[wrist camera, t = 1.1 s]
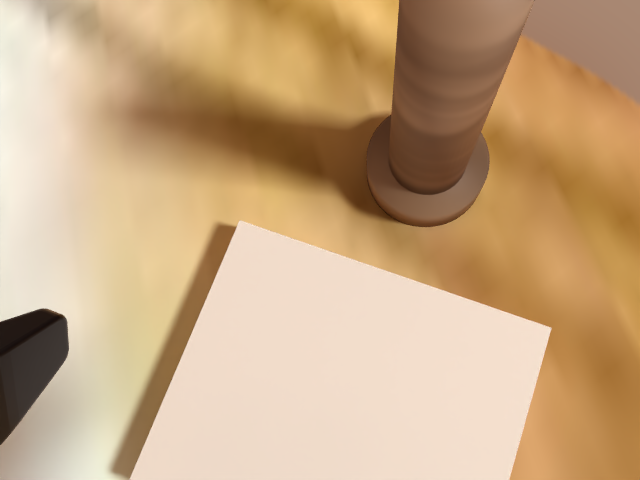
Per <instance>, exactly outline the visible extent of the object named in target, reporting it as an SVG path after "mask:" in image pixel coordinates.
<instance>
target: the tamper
mask: <svg viewBox="0 0 640 480" xmlns="http://www.w3.org/2000/svg"><path fill="white" fill-rule="evenodd" d="M534 1H535V0H399V13H398V28H397V42H396V56H395V71H394V85H393V100H392V114H391V115H390V116H389V117H388V118H386V119H385V120H384V121H383V122H382V123H381V124H380V125H379V127H378V128H377V129H376V131H375V132H374V134H373V136H372V138H371V140H370V143H369V146H368V151H367V179H368V185H369V188H370V191H371V193H372V196H373V197H374V199H375V201H376V202H377V204H378V205H379V206H380V207H381V208H382V209H383V210H384V211H385V212H386V213H387V214H388V215H390V216H391V217H393V218H394V219H396V220H398V221H400V222H403V223H405V224H409V225H412V226H419V227H432V226H439V225H443V224H446V223H448V222H451V221H453V220H455V219H457V218H458V217H460V216H461V215H462V214H464V213H465V212H466V211H467V210H468V209H469V208H470V207H471V205H472V204H473V203H474V201H475V200H476V198H477V196H478V194H479V192H480V191H481V189H482V187H483V185H484V183H485V180H486V178H487V174H488V170H489V151H488V147H487V144H486V141H485V139H484V137H483V135H482V133H481V130H482V128H483V126H484V123H485V121H486V118H487V116H488V113H489V111H490V108H491V106H492V104H493V101H494V99H495V96H496V94H497V91H498V89H499V86H500V84H501V82H502V79H503V77H504V74H505V72H506V69H507V67H508V64H509V62H510V60H511V57H512V55H513V52H514V50H515V47H516V45H517V42H518V40H519V38H520V35H521V32H522V30H523V27H524V25H525V23H526V20H527V18H528V15H529V13H530V10H531V8H532V6H533V3H534Z"/></svg>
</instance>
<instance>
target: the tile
mask: <svg viewBox="0 0 640 480" xmlns="http://www.w3.org/2000/svg"><path fill="white" fill-rule="evenodd" d="M550 331H551V328H550V327H547V326H544V325H541V324H539V323H536V322H533V321H530V320H527V319H524V318H521V317H518V316H515V315H513V314H510V313H507V312H504V311H501V310H498V309H495V308H492V307H489V306H486V305H484V304H481V303H478V302H475V301H472V300H469V299H466V298H463V297H460V296H457V295H455V294H452V293H449V292H446V291H443V290H440V289H437V288H434V287H431V286H428V285H426V284H423V283H420V282H417V281H414V280H411V279H408V278H405V277H402V276H400V275H397V274H394V273H391V272H388V271H385V270H382V269H379V268H376V267H373V266H371V265H368V264H365V263H362V262H359V261H356V260H353V259H350V258H347V257H344V256H342V255H339V254H336V253H333V252H330V251H327V250H324V249H321V248H318V247H315V246H313V245H310V244H307V243H304V242H301V241H298V240H295V239H292V238H289V237H287V236H284V235H281V234H278V233H275V232H272V231H269V230H266V229H263V228H260V227H258V226H255V225H252V224H249V223H246V222H243V221H239V223H238V225H237V228H236V230H235V232H234V235H233V237H232V240H231V242H230V244H229V247H228V249H227V251H226V254H225V256H224V258H223V261H222V263H221V265H220V268H219V270H218V272H217V275H216V277H215V279H214V282H213V284H212V287H211V289H210V291H209V294H208V296H207V298H206V301H205V303H204V305H203V308H202V310H201V312H200V315H199V317H198V319H197V322H196V324H195V327H194V329H193V331H192V334H191V336H190V338H189V341H188V343H187V345H186V348H185V350H184V352H183V355H182V357H181V359H180V362H179V364H178V366H177V369H176V371H175V374H174V376H173V378H172V381H171V383H170V385H169V388H168V390H167V392H166V395H165V397H164V399H163V402H162V404H161V406H160V409H159V411H158V414H157V416H156V418H155V421H154V423H153V425H152V428H151V430H150V432H149V435H148V437H147V439H146V442H145V444H144V446H143V449H142V451H141V453H140V456H139V458H138V461H137V463H136V465H135V468H134V470H133V472H132V475H131V477H130V479H129V480H509V478H510V475H511V471H512V467H513V464H514V460H515V457H516V453H517V449H518V446H519V442H520V439H521V435H522V432H523V428H524V424H525V421H526V417H527V414H528V410H529V406H530V403H531V399H532V396H533V392H534V388H535V385H536V381H537V378H538V374H539V371H540V367H541V363H542V360H543V356H544V353H545V349H546V345H547V342H548V338H549V335H550Z"/></svg>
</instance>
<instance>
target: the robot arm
mask: <svg viewBox="0 0 640 480" xmlns="http://www.w3.org/2000/svg"><path fill="white" fill-rule="evenodd" d="M68 351H69V342H68V327H67V320H66V318H65V316H63V315H62V314H59V313H57V312H54V311H52V310H49V309H38V310H35V311H32V312H29V313H26V314H23V315H20V316H17V317H14V318H11V319H8V320H4V321H1V322H0V445H1V444H2V443H3V442H4V441H5V439H6V438H7V437H8V436H9V435H10V434H11V432H12V431H13V430H14V429H15V427H16V426H17V425H18V424H19V422H20V421H21V420H22V418H23V417H24V416H25V414H26V413H27V412H28V410H29V409H30V408H31V406H32V405H33V403H34V402H35V401H36V399H37V398H38V397H39V395H40V394H41V393H42V391H43V390H44V389H45V387H46V386H47V385H48V383H49V382H50V381H51V379H52V378H53V377H54V375H55V374H56V372H57V371H58V370H59V368H60V367H61V366H62V364H63V363H64V361H65V360H66V358H67V355H68Z"/></svg>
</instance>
